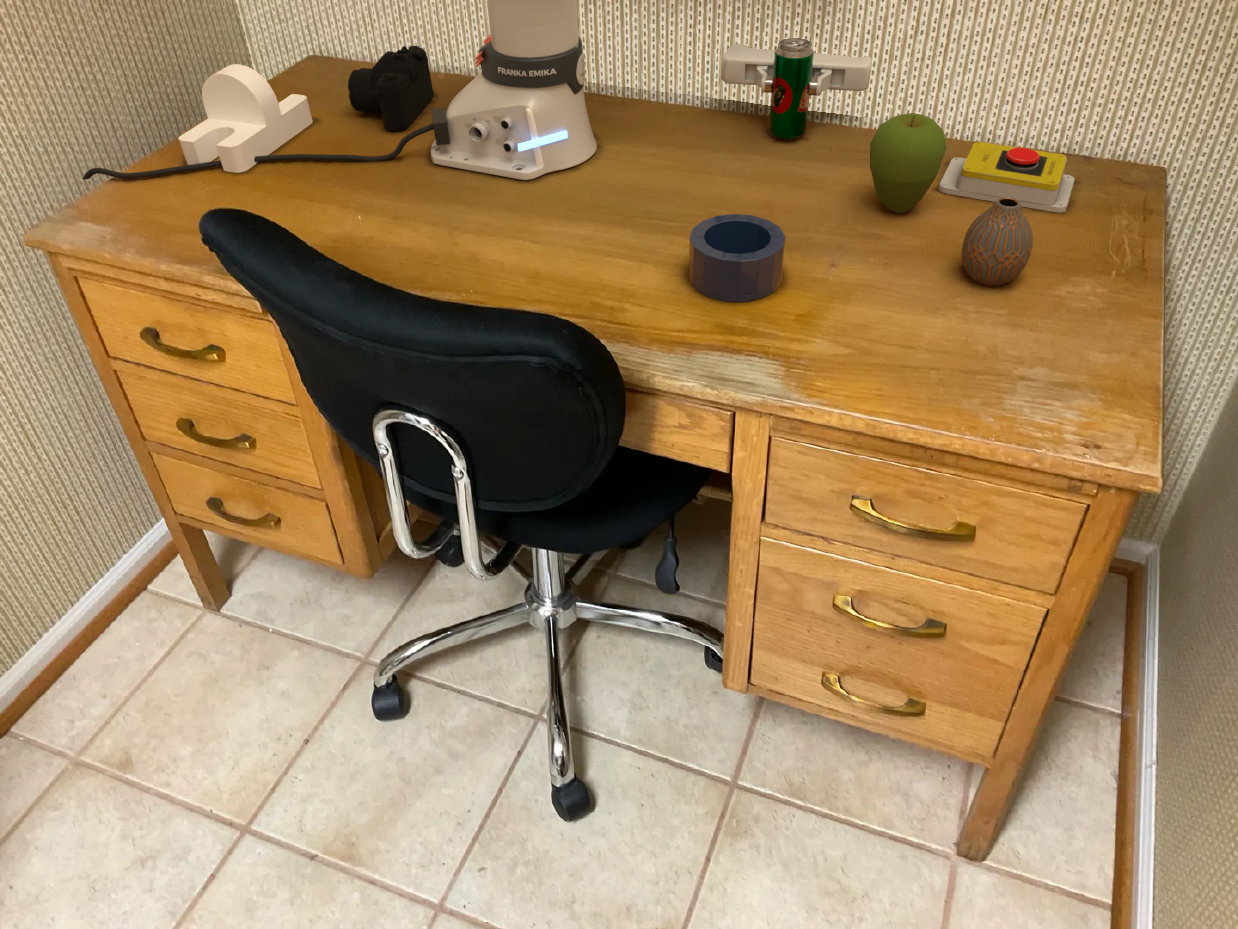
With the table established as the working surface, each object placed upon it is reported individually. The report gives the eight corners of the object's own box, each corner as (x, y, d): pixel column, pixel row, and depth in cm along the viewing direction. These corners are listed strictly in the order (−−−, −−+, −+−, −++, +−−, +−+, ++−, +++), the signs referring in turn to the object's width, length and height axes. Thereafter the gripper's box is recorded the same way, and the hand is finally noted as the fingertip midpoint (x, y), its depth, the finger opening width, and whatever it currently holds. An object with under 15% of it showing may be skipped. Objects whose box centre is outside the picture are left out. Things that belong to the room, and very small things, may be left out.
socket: (682, 297, 104) (682, 256, 101) (697, 250, 111) (698, 210, 108) (775, 306, 102) (779, 264, 99) (785, 258, 109) (789, 217, 106)
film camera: (381, 90, 150) (369, 30, 144) (441, 93, 148) (431, 32, 142) (342, 131, 139) (327, 67, 133) (405, 135, 137) (393, 70, 131)
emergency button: (1075, 179, 112) (943, 157, 117) (1064, 213, 115) (936, 191, 120) (1084, 146, 118) (959, 128, 123) (1074, 180, 121) (952, 160, 126)
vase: (947, 262, 108) (963, 188, 102) (1008, 257, 108) (1028, 184, 102) (969, 295, 103) (987, 220, 97) (1033, 290, 103) (1055, 215, 97)
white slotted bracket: (315, 120, 142) (298, 48, 136) (242, 173, 130) (219, 97, 123) (260, 113, 145) (240, 42, 138) (183, 164, 132) (157, 90, 126)
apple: (871, 187, 122) (885, 95, 114) (940, 198, 119) (959, 105, 111) (853, 218, 116) (866, 123, 108) (924, 231, 113) (943, 135, 105)
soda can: (804, 142, 131) (813, 51, 123) (766, 139, 132) (773, 49, 124) (806, 126, 135) (815, 37, 127) (770, 124, 136) (776, 35, 128)
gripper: (728, 24, 138) (713, 59, 128) (875, 31, 134) (872, 68, 124) (726, 69, 142) (712, 106, 133) (869, 77, 139) (865, 116, 129)
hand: (790, 88), depth 128 cm, fingers closed on soda can, 5 cm apart
